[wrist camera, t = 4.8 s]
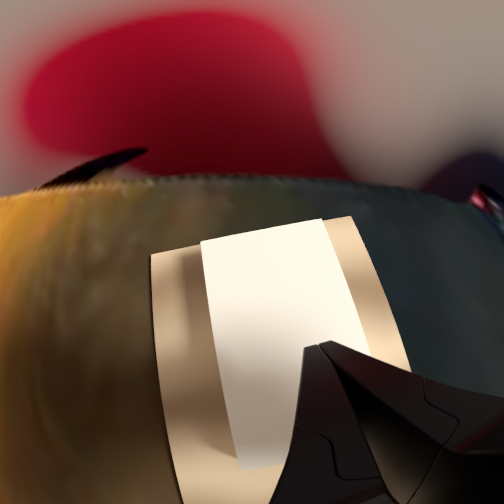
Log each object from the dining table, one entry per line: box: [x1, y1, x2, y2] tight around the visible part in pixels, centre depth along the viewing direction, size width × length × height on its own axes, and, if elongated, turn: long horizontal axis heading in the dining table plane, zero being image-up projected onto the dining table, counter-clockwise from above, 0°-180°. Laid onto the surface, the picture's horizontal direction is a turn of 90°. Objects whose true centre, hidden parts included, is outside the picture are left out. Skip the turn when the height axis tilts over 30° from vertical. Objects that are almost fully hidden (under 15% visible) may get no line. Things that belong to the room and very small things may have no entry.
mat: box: [151, 216, 411, 504], centre depth 13 cm, size 22×14×1 cm, turn 11°
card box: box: [200, 218, 371, 471], centre depth 14 cm, size 2×7×12 cm
